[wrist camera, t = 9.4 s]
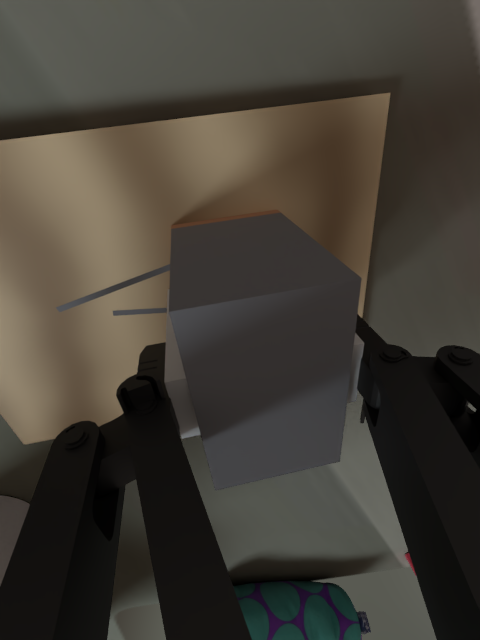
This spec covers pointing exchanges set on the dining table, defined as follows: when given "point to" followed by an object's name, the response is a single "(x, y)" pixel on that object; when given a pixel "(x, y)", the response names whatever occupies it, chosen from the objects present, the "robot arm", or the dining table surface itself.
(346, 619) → the pencil case
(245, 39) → the dining table surface
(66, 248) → the board
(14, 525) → the coffee cup
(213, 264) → the block
